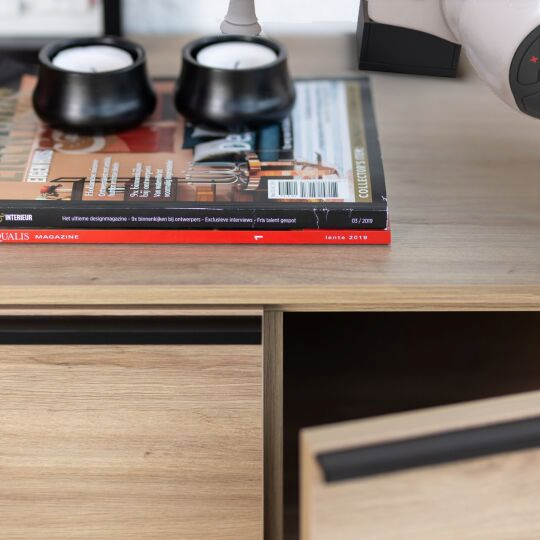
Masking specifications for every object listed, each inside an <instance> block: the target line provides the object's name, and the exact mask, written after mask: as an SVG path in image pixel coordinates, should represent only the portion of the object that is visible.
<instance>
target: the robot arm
mask: <svg viewBox="0 0 540 540" xmlns="http://www.w3.org/2000/svg"><path fill="white" fill-rule="evenodd" d="M366 1H368V15H369V17H370V18H371V19H372V20H373V21H375V22H378V23H383V24H389V25H392V26H397V27H403V28H408V29H412V30H417V31H422V32H426V33H429V34H433V35H435V36H438V37H441V38H443V39H446V40H448V41H451V42H454V43H457V44H461V45H462V49H463V52H464V54H465V55H466V56H465V57H467V60H468V61H469V63H470V65H471V66H472V67H473V70H474V71H475V72H476V73H477V75H478V77H479V78H480V79H481V80H482V82H483V83H484V84H485V85H486V87H487V88H488V89H489V90H490V91H491V93H493V94H494V95H495V96H496V97H497V98H498V99H499V100H500V101H502V102H503V103H504V105H507V106H508V107H509V108H510V109H512V110H513V111H515V112H517V113H518V114H520V115H522V116H524V117H527V118H529V119H531V120H532V119H533V120H536V121H540V0H366Z"/></svg>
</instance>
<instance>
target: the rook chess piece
mask: <svg viewBox="0 0 540 540" xmlns="http://www.w3.org/2000/svg"><path fill="white" fill-rule="evenodd" d="M258 20H259V18H258V17H257V15H256V6H255V0H229V3H228V8H227V11H226V14H225V15H224V20H223V21H221V23H220V24H219V30H220V31H221V32H220V33H219V34H218V36H219V35H221V34H243V35H255V36H260V37H261V38H262V36H261V35H260V34H261V33H262V26H261V25H260V23H259V21H258Z"/></svg>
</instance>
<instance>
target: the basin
mask: <svg viewBox="0 0 540 540" xmlns="http://www.w3.org/2000/svg"><path fill="white" fill-rule="evenodd" d="M355 43H356V44H355V45H356V56H357V68H358V70H364V71H377V72H378V71H379V72H387V73H388V72H389V73H400V74H401V73H402V74H410V75H411V74H413V75H424V76H435V77H436V76H437V77H449V78H456V77H457V74H458V73H457V72H458V67H459V62H460V56H461V51H462V48H463V46H462V45H461V44H457V43H454V42H451V41H448V40H446V39H443V38H441V37H438V36H435V35H433V34H429V33H426V32H422V31H417V30H412V29H408V28H403V27H397V26H392V25H389V24H383V23H378V22H375V21H373V20H372V19H371V18H370V17H369V15H368V1H366V0H359V6H358V14H357V23H356V30H355Z"/></svg>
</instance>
